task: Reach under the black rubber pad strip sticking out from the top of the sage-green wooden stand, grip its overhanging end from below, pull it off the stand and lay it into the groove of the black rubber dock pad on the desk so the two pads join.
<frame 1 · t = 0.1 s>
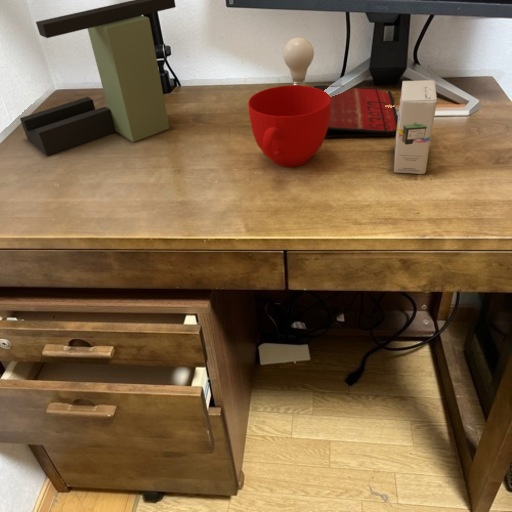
stand: (141, 129, 97), on the table
ink box: (408, 162, 80), on the table
lightbulb: (298, 92, 107), on the table
ceramic cup: (286, 164, 82), on the table
pad strip: (111, 20, 84), point 20 cm above the table, touching stand
dock pad: (72, 135, 96), on the table
binder: (352, 115, 96), on the table
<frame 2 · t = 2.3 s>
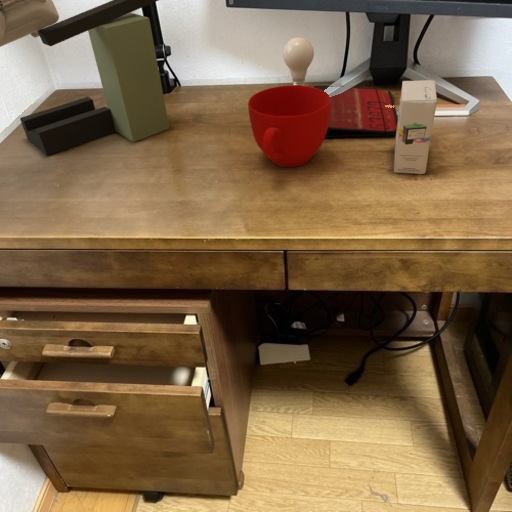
hand: (10, 42, 81), 19 cm above the table, tool tilted 60°, fingers open, 8 cm apart
pad strip: (110, 18, 83), point 20 cm above the table, tilted 8°, touching gripper, stand
everything else where it was.
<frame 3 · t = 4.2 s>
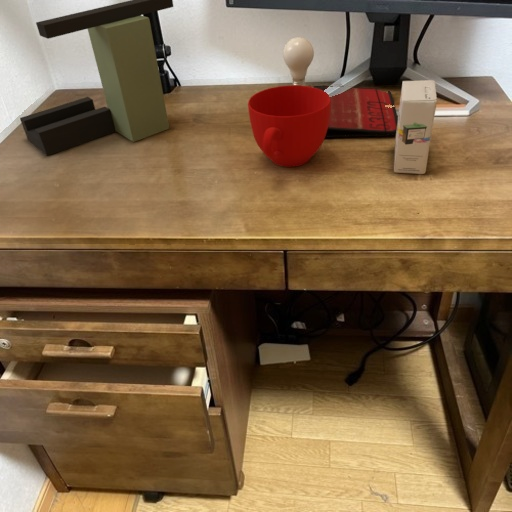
pad strip: (110, 20, 84), point 20 cm above the table, touching stand
everything else where it was.
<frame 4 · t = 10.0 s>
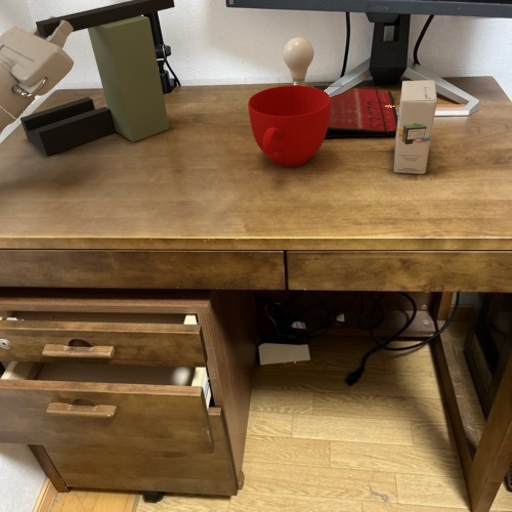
hand: (63, 21, 79), 21 cm above the table, tool pointing upward, fingers closed on pad strip, 3 cm apart
pad strip: (111, 20, 84), point 20 cm above the table, touching gripper, stand
everything else where it was.
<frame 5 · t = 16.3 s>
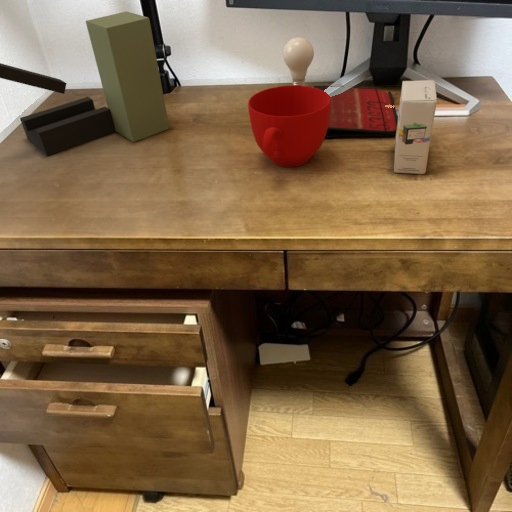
when the fingers open (6 cm above the table, at t = 20.9 s): pad strip drops 1 cm, resting on dock pad.
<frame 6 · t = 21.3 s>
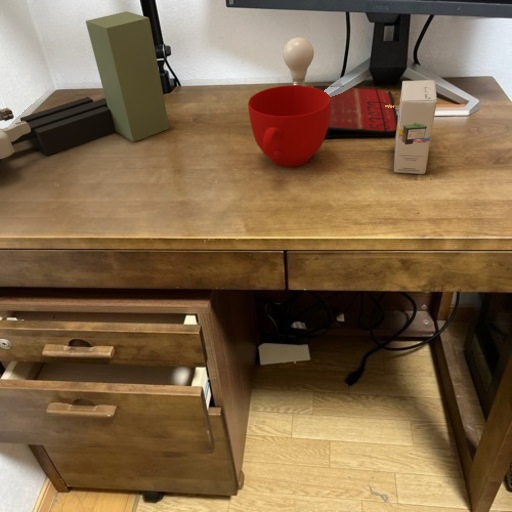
hand: (19, 119, 89), 6 cm above the table, tool horizontal, fingers open, 7 cm apart
pad strip: (65, 124, 95), point 2 cm above the table, touching dock pad
everything else where it was.
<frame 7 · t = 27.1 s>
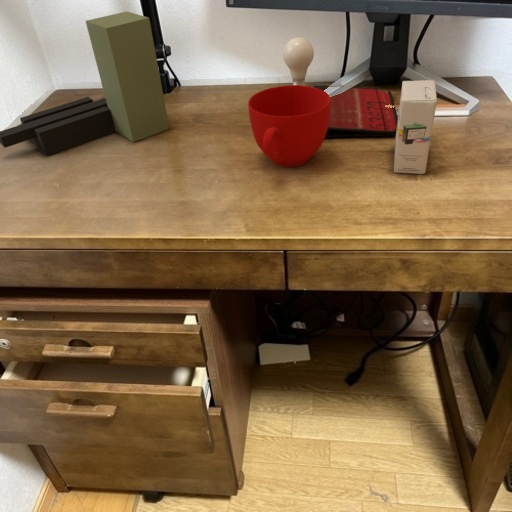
nothing on the table moved.
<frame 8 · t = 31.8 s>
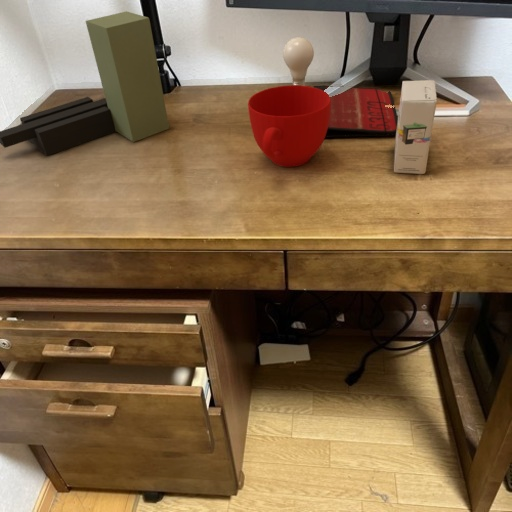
nothing on the table moved.
at the end: pad strip inside the target area on the dock pad (0.6 cm from its centre), point 2.5 cm above the dock pad's base; pad strip touching dock pad; the gripper is holding nothing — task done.
